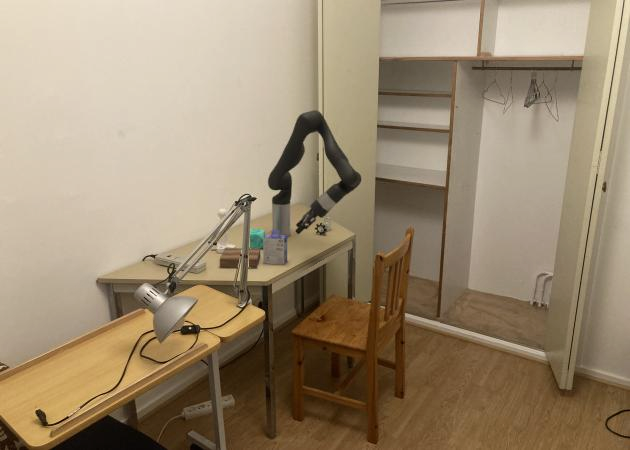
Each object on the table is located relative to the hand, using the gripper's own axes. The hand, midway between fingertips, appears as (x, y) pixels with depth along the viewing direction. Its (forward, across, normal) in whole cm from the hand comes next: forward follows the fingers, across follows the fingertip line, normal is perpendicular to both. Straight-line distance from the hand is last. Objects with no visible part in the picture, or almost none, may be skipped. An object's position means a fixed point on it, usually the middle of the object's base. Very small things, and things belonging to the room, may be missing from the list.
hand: (297, 229), depth 233 cm
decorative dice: (+26, -20, -3) cm, 33 cm away
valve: (+2, -44, +20) cm, 49 cm away
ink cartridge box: (+18, 0, +4) cm, 18 cm away
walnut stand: (+28, 0, -7) cm, 29 cm away
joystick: (+36, -14, -14) cm, 41 cm away
